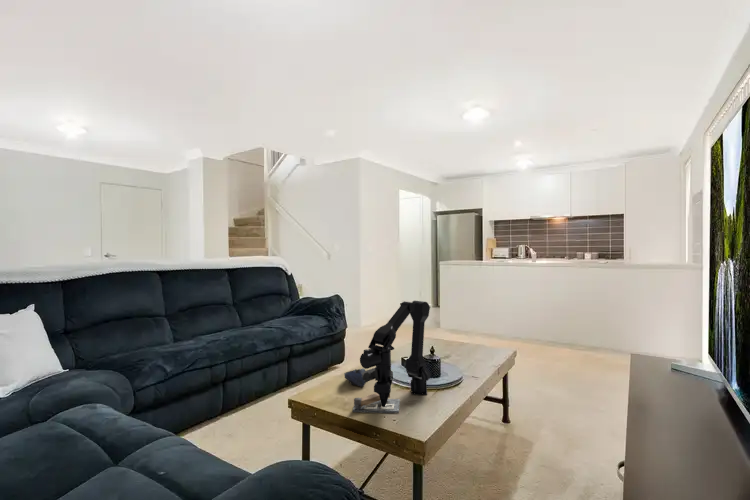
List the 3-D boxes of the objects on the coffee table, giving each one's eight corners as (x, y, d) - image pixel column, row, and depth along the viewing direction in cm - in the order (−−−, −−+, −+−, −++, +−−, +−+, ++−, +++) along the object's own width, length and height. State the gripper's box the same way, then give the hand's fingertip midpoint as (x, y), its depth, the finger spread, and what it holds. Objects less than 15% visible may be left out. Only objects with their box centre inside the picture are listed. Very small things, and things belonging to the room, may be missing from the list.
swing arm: (385, 396, 158) (385, 389, 158) (390, 398, 156) (389, 391, 156) (352, 406, 150) (352, 398, 149) (356, 409, 147) (356, 401, 147)
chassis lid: (400, 401, 157) (399, 398, 157) (398, 413, 146) (398, 410, 146) (356, 400, 159) (356, 397, 159) (352, 412, 148) (352, 409, 148)
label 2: (394, 404, 152) (394, 403, 152) (393, 409, 148) (393, 408, 148) (381, 404, 152) (381, 403, 152) (380, 409, 148) (380, 407, 148)
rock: (347, 391, 169) (368, 385, 170) (343, 372, 172) (364, 366, 173) (348, 389, 184) (368, 384, 185) (345, 372, 186) (364, 367, 187)
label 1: (378, 404, 152) (378, 403, 152) (377, 408, 148) (377, 407, 148) (365, 404, 153) (365, 403, 153) (364, 408, 149) (364, 407, 149)
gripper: (366, 355, 160) (366, 393, 159) (359, 369, 141) (360, 411, 141) (392, 356, 158) (393, 393, 158) (389, 370, 140) (390, 412, 140)
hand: (384, 402), depth 149 cm, fingers open, 7 cm apart
